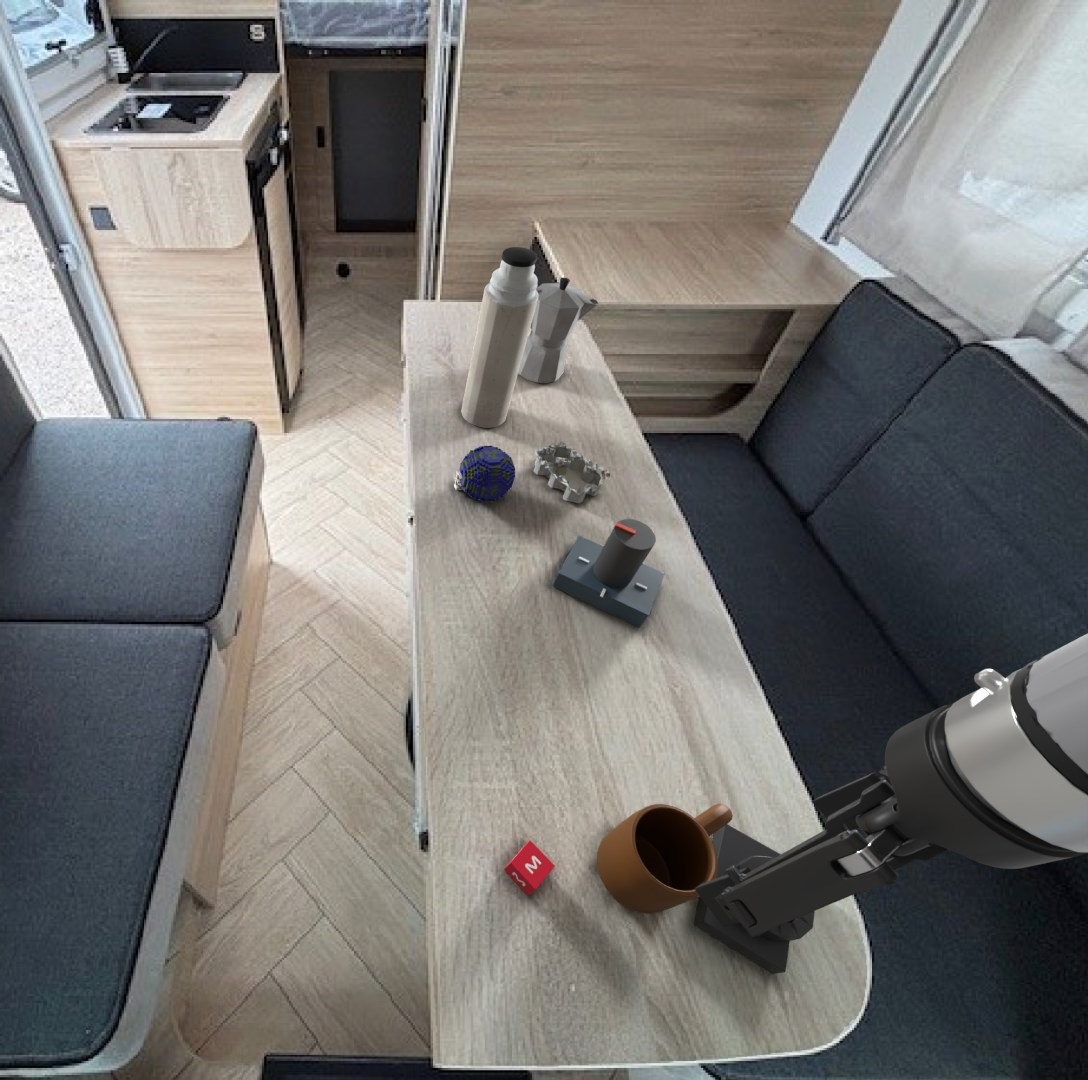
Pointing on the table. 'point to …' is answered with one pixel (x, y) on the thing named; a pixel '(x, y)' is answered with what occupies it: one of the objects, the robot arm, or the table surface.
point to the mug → (660, 856)
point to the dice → (529, 868)
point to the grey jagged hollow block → (569, 472)
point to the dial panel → (619, 602)
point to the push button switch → (758, 949)
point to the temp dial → (624, 553)
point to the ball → (485, 473)
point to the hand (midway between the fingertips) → (773, 857)
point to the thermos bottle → (501, 338)
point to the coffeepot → (552, 330)
